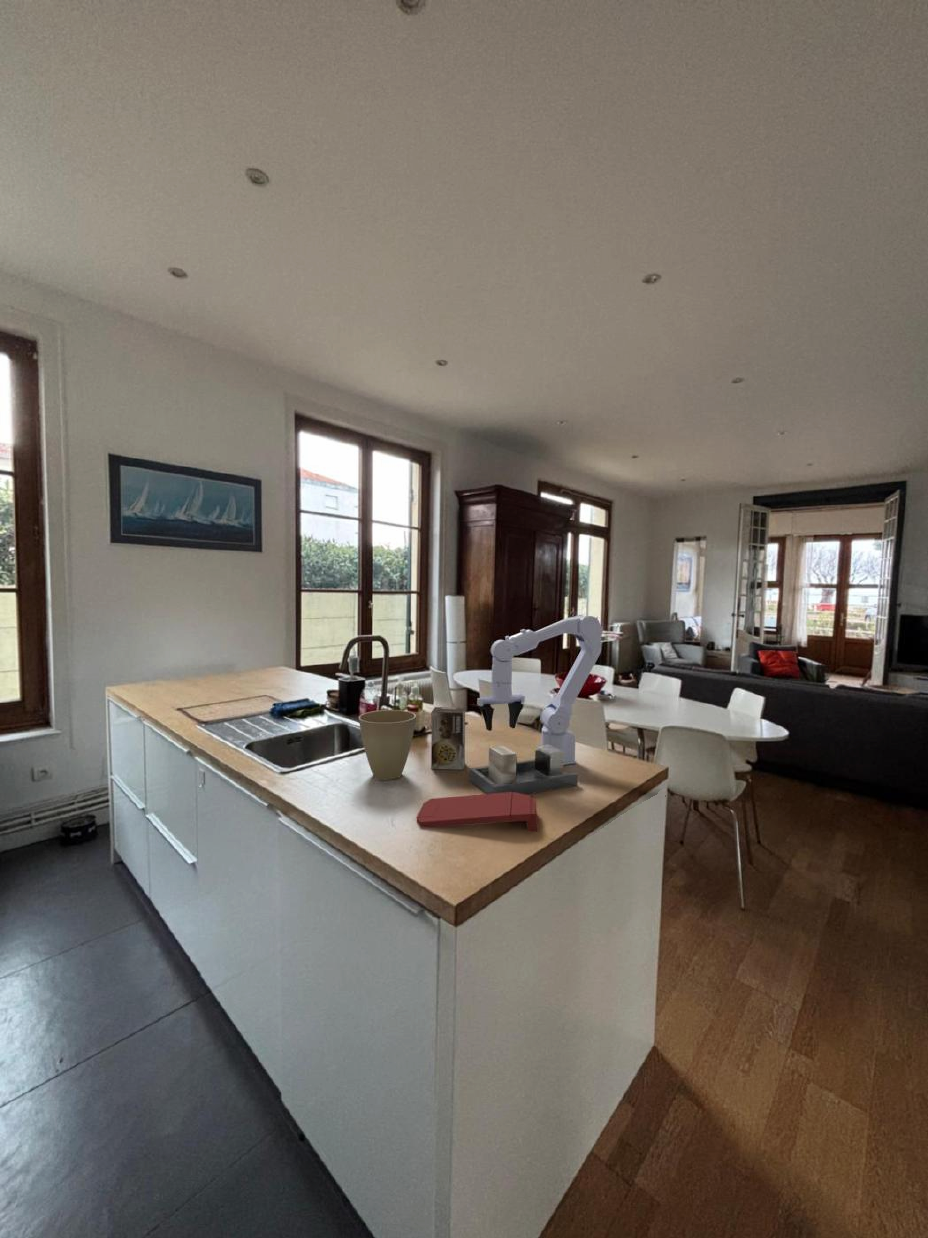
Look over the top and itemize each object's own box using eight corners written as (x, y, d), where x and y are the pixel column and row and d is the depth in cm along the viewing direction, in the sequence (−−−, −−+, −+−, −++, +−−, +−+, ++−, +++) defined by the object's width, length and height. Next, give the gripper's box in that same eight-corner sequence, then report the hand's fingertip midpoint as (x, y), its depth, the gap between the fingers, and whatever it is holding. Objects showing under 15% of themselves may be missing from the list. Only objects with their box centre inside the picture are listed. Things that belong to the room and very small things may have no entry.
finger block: (504, 775, 132) (504, 745, 131) (517, 784, 125) (518, 753, 125) (488, 778, 130) (489, 747, 130) (501, 787, 124) (502, 755, 123)
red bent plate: (417, 845, 104) (538, 837, 101) (413, 822, 104) (534, 812, 101) (428, 820, 116) (536, 811, 113) (425, 799, 116) (534, 789, 113)
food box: (465, 763, 144) (466, 707, 144) (463, 770, 138) (464, 712, 137) (433, 761, 145) (434, 706, 145) (430, 769, 139) (431, 711, 138)
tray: (546, 768, 141) (547, 740, 141) (577, 785, 128) (578, 754, 128) (469, 779, 131) (469, 749, 131) (494, 799, 118) (494, 766, 118)
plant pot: (404, 763, 143) (405, 707, 143) (423, 780, 130) (424, 719, 129) (352, 770, 137) (352, 712, 136) (366, 789, 123) (366, 725, 123)
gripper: (516, 678, 151) (515, 723, 151) (472, 681, 145) (472, 727, 145) (528, 682, 144) (527, 729, 145) (483, 685, 138) (482, 733, 139)
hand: (500, 728), depth 145 cm, fingers open, 7 cm apart
